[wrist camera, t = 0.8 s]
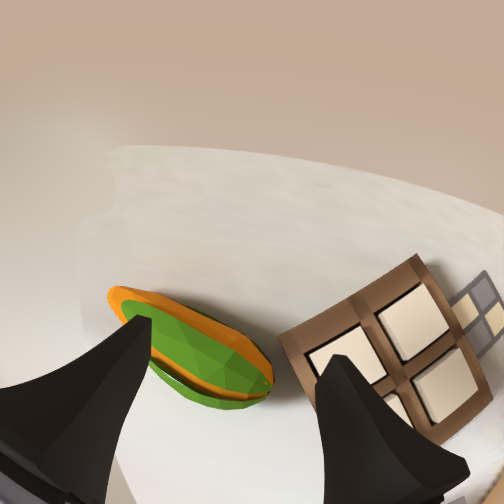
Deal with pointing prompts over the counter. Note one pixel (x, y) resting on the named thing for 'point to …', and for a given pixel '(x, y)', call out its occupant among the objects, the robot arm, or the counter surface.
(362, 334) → the button
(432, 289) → the button board
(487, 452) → the counter surface
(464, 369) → the button
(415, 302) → the button
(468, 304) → the card
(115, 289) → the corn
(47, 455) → the robot arm
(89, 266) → the counter surface
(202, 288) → the counter surface
